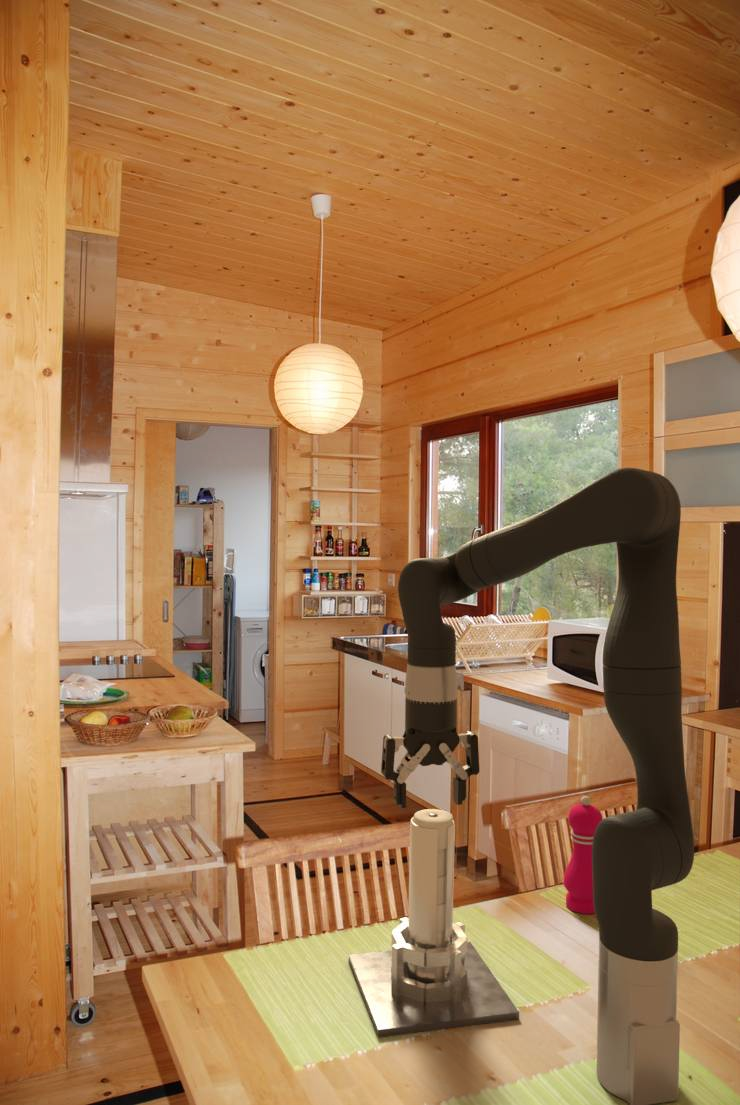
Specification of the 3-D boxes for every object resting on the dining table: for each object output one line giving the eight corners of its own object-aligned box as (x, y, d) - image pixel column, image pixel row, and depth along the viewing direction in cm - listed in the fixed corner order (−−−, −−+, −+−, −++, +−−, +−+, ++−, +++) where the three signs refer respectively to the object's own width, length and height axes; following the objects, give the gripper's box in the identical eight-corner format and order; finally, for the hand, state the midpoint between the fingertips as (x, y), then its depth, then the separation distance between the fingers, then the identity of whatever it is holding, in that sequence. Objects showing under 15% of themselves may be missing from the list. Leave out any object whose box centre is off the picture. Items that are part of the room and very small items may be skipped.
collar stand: (519, 1019, 117) (519, 962, 117) (378, 1037, 112) (378, 978, 112) (470, 948, 136) (470, 899, 136) (348, 961, 132) (349, 910, 132)
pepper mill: (555, 900, 154) (557, 791, 153) (590, 895, 156) (592, 788, 155) (576, 918, 147) (578, 804, 146) (612, 912, 149) (615, 800, 149)
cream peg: (451, 971, 127) (454, 807, 126) (451, 995, 121) (455, 823, 120) (408, 968, 128) (411, 805, 127) (405, 992, 121) (409, 820, 120)
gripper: (390, 701, 118) (389, 817, 118) (486, 698, 121) (485, 810, 121) (377, 691, 125) (376, 800, 126) (468, 688, 128) (467, 794, 129)
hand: (430, 805), depth 123 cm, fingers open, 8 cm apart
